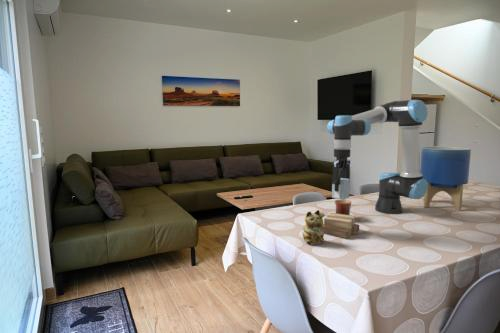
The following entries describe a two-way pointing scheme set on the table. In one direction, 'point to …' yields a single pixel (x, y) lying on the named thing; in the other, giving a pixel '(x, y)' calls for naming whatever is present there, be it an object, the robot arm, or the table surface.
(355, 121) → the robot arm
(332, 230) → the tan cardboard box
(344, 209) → the mug
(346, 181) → the block
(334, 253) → the table surface
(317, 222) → the decorative figurine
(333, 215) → the slab upper
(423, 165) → the planter
